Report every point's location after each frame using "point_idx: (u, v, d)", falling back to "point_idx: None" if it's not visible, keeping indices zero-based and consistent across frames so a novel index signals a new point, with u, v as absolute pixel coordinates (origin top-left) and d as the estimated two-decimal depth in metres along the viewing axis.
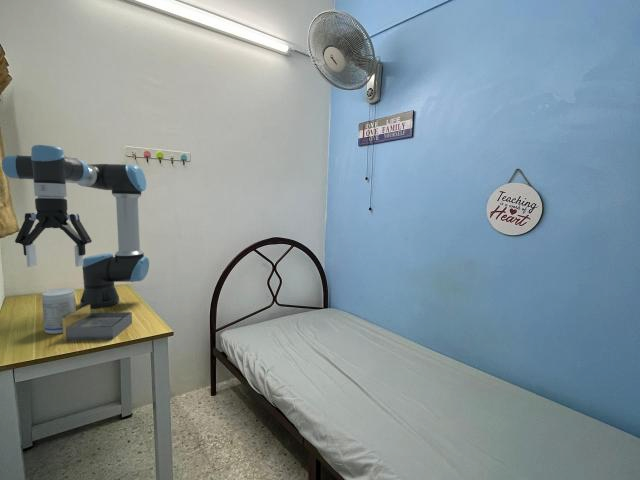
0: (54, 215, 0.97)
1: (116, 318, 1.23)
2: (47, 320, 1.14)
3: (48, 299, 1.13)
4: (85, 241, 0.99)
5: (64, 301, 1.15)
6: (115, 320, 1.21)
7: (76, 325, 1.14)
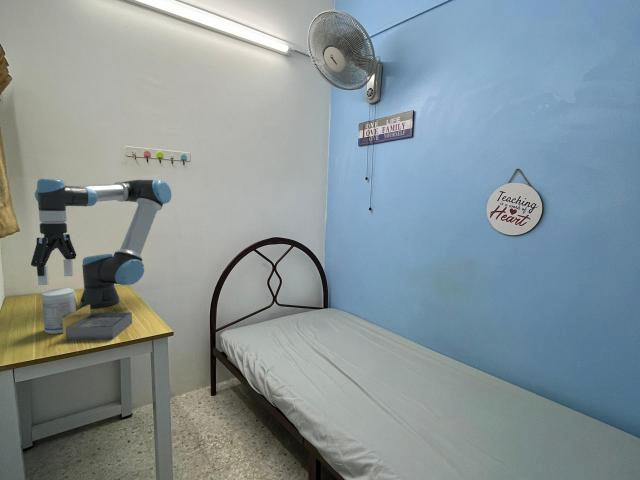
0: None
1: (116, 318, 1.23)
2: (47, 320, 1.14)
3: (48, 299, 1.13)
4: None
5: (64, 301, 1.15)
6: (115, 320, 1.21)
7: (76, 325, 1.14)
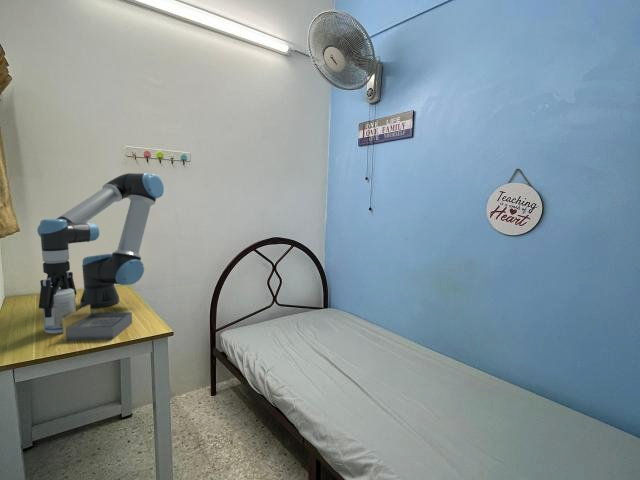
0: None
1: (116, 318, 1.23)
2: None
3: None
4: None
5: (64, 301, 1.15)
6: (115, 320, 1.21)
7: (76, 325, 1.14)
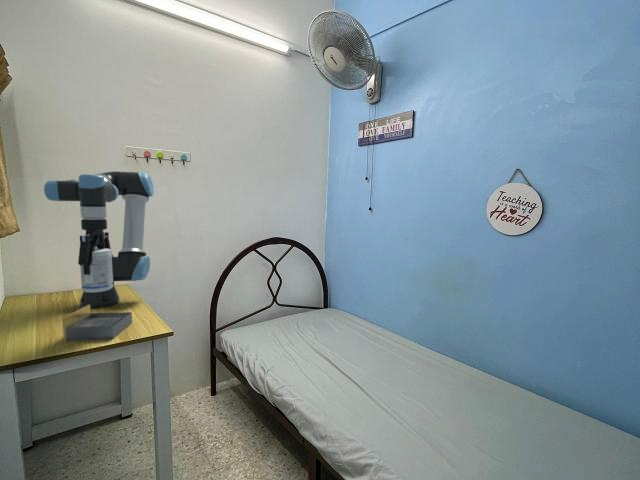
0: None
1: (116, 318, 1.23)
2: None
3: None
4: None
5: (102, 259, 1.12)
6: (115, 320, 1.21)
7: (76, 325, 1.14)
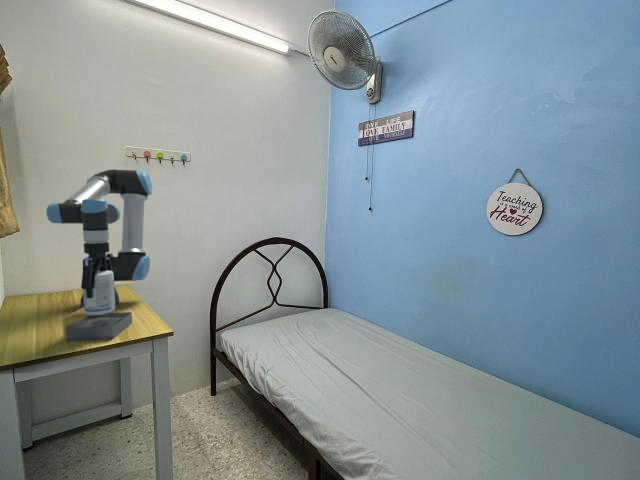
0: None
1: (116, 318, 1.23)
2: None
3: None
4: None
5: (104, 282, 1.13)
6: (115, 320, 1.21)
7: (76, 325, 1.14)
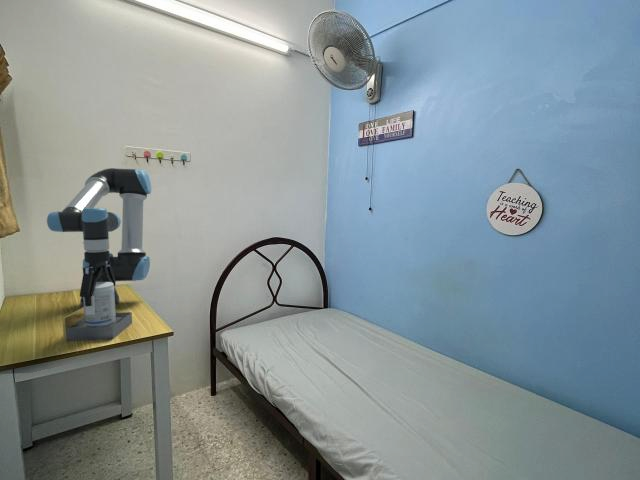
0: None
1: (116, 318, 1.23)
2: None
3: None
4: None
5: (105, 294, 1.14)
6: (115, 320, 1.21)
7: (76, 325, 1.14)
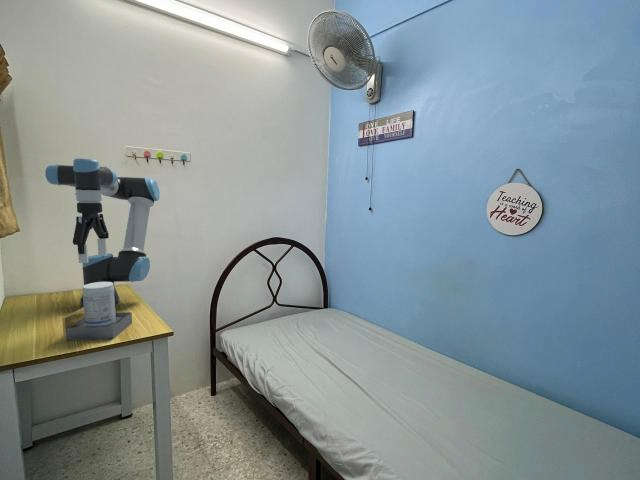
0: None
1: (116, 318, 1.23)
2: (88, 313, 1.12)
3: (89, 292, 1.11)
4: None
5: (105, 294, 1.14)
6: (115, 320, 1.21)
7: (76, 325, 1.14)
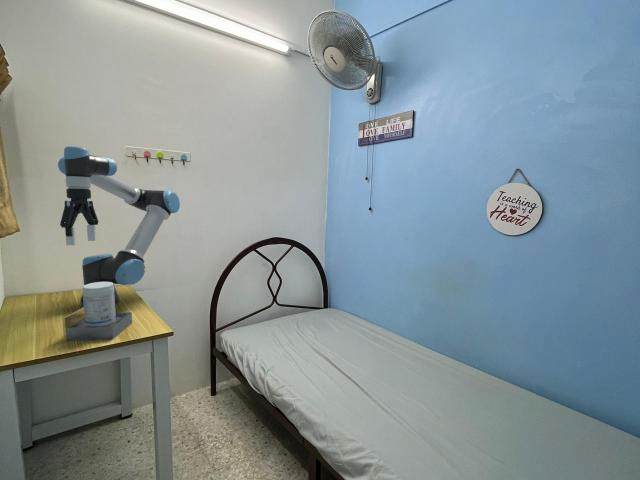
0: None
1: (116, 318, 1.23)
2: (88, 313, 1.12)
3: (90, 292, 1.11)
4: None
5: (105, 294, 1.14)
6: (115, 320, 1.21)
7: (76, 325, 1.14)
